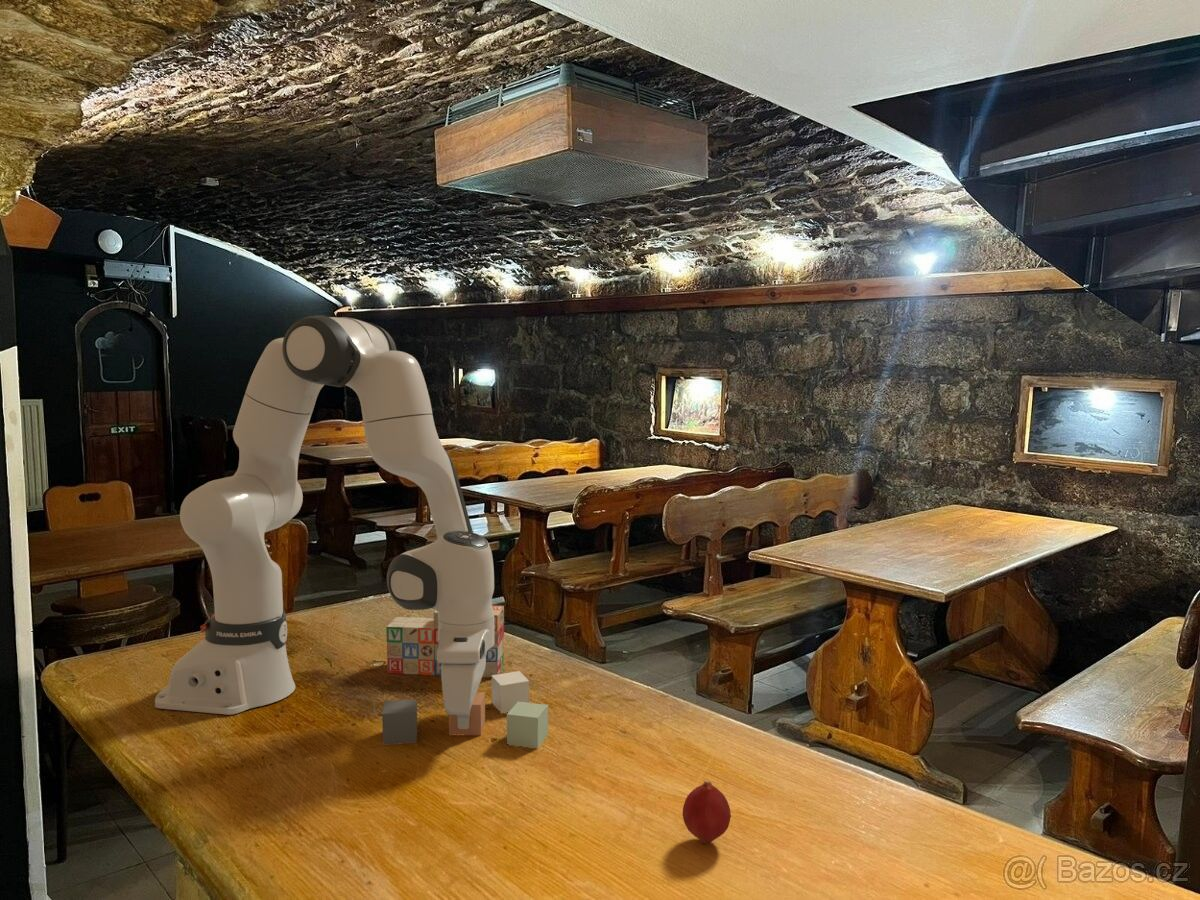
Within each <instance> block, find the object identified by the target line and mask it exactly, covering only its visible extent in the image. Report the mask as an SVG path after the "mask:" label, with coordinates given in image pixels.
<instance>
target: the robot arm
mask: <svg viewBox="0 0 1200 900" xmlns="http://www.w3.org/2000/svg"><path fill="white" fill-rule="evenodd" d="M324 386H330V387H336V388H343V387H345V386H347V387H349V388H350V389H352V391H354V392H355V393H356V396H357V397H358V400H359V402H360V403H359V404H360V407H361V415H362V423H363V429H364V435H365V436H364V437H365V442H366V446H367V449H368V451H369V454H370V457H371V458H372V460H373V461H374V462H375V463H376V464H377V465H378V466H379V467H381V468H382V469H383V470H385V471H386V472H388V473H390V474H392V475H395V476H398V477H401V478H404V479H407V480H409V481H411V482H412V483H415V484H416V486H418V487H419V488H420V489H421V491H422V492H423V493H424V495H425V497H426V500H427V503H428V506H429V511H430V514H431V517H432V521H433V525H434V529H435V532H436V540H435V541H433V542H431V543H429V544H427V545H423V546H421V547H417V548H413V549H411V550H407V551H405V552H403V553H401V554H398V555H396V556H395V557H394V558H393V559H392V560H391V562H390V564H389V565H388V568H387V571H386V572H387V573H386V584H387V589H388V592H389V595H390V596H391V598H392V600H393V602H395V603H396V605H398V606H400V607H401V608H403V609H405V610H408V611H422V610H424V611H425V610H429V609H433V610H435V611H436V610H437V612H438V648H437V662H438V663H442V665H441V675H440V676H441V677H440V678H441V689H442V701H443V707H444V711H445V713H446V714H447V715H448V716H449V715H457V718H458V728H459V729H468V728H469V726H470V709H471V707H472V704H473V701H474V698H475V695H476V693H477V692H478V689H479V687H480V683H481V682H482V678H483V677H482V676H483V673H484V670H485V666H486V654H487V651H488V649H490V648H492V647H493V646H494V610H493V607H492V606H493V602H492V601H493V595H494V592H495V570H494V569H495V568H494V558H493V552H492V549H491V546H490V543H489V542H488V540H487V539H486V538H485V537H484V536H482V535H481V534H479V533H476V532H474V530H473V528H472V525H471V521H470V517H469V513H468V509H467V506H466V502H465V499H464V495H463V491H462V487H461V483H460V480H459V478H458V473H457V471H456V470H457V469H456V467H455V464H454V462H453V460H452V458H451V455H450V454H449V453H448V451H446V450H445V447H444V446H443V445H442V442H441V440H440V438H439V434H438V432H437V428H436V425H435V420H434V415H433V409H432V403H431V398H430V395H429V391H428V388H427V383H426V380H425V377H424V374H423V372H422V368H421V366H420V363H419V362H418V360H417V359H416V357H414V356H413V355H411V354H409V353H407V352H405V351H400V350H397V347H396V343H395V341H394V339H393V337H392V336H391V335H390V333H389V332H388V331H386V330H385V329H384V328H383V327H381V326H379V325H377V324H376V323H373V322H368V321H363V320H360V319H356V318H352V317H345V316H341V317H336V316H335V317H334V316H327V315H321V314H320V315H310V316H306V317H303V318H301V319H298V320H296V321H295V322H294V323H292V324H291V325H290V327H289V328H288V329H287V330H286V332H285V334H284V336H283V337H279V338H275V339H273V340H271V341H270V342H269V343H268V344H267V345H266V346H265V348H264V350H263V351H262V353H261V356H260V357H259V358H258V360H257V363H256V365H255V368H254V369H253V372H252V374H251V376H250V378H249V381H248V384H247V387H246V388H245V389H246V390H245V392H244V393H245V394H244V396H243V398H242V402H241V406H240V408H239V412H238V414H237V418H236V421H235V425H234V427H233V430H232V438H233V441H234V443H235V444H236V446H237V447H238V451H239V454H238V455H239V457H238V458H239V460H238V467H237V469H236V471H235V473H234V474H233V475H231V476H227V477H223V478H218V479H213V480H211V481H207V482H206V483H204V484H203V485H200V486H199V487H197V488H195V489H194V490H192V491H191V492H190V493H188V494H187V495H186V496H185V497H184V499H183V501H182V503H181V505H180V510H179V520H180V524H181V526H182V529H183V531H184V533H185V534H186V535H187V537H189V538H190V540H192V541H193V542H195V543H196V544H197V545H199V547H200V548H201V550H202V551H203V554H204V556H205V559H206V561H207V563H208V566H209V570H210V574H211V579H212V590H213V605H214V606H213V607H214V609H213V610H214V613H213V614H211V617H210V618H209V619H207V620H205V621H204V624H202V625H200V634H202V633H205V634H204V635H205V637H204V639H202V640H201V641H200V642H198V643H197V644H196V645H195V646H193V647H192V648H191V649H190V650H189V651H187V652H186V653H185V654H184V655H182V656H181V657H180V658H179V659H178V660H177V661H176V662H175V664H173V667H172V669H171V671H170V672H171V673H170V676H169V681H168V682H169V683H168V685H166V686H165V687H163V688H162V689H161V690H160V691H159V692H158V693H157V694H156V696H155V697H154V698H155V699H154V708H156V709H162V710H163V709H164V710H174V711H186V712H194V713H195V712H196V713H206V714H217V715H218V714H220V715H226V716H230V715H231V716H232V715H235V714H239V713H242V712H245V711H246V710H249V709H254V708H257V707H263V706H265V705H270V704H273V703H275V702H279V701H281V700H284V699H285V698H287V697H288V696H290V695H291V694H292V693H294V691H295V690H296V684H295V681H294V679H293V675H292V671H291V667H290V664H289V663H290V662H289V660H288V654H287V645H286V643H287V641H288V640H287V638H288V624H287V615H286V611H285V609H284V600H283V597H284V596H283V595H284V594H283V572H282V569H281V567H280V565H279V564H278V563H277V562H276V561H274V560H272V558H271V556H270V555H269V552H268V548H267V546H266V545H267V544H266V543H265V542H266V541H265V533H268V532H271V531H273V530H277V529H279V528H281V527H282V526H283V525H285V524H286V523H288V522H289V521H290V520H292V519H293V518H294V517H296V516H297V514H298V513H299V511H300V510H301V507H302V505H303V501H304V500H303V498H304V496H303V490H302V487H301V485H300V483H299V482H298V469H299V468H298V467H299V459H300V454H301V450H302V445H303V444H304V443H303V442H304V440H305V439H304V438H305V436H306V432H307V430H308V426H309V424H310V420H311V417H312V414H313V412H314V408H315V405H316V401H317V398H318V396H319V393H320V391H321V390H322V388H323V387H324Z"/></svg>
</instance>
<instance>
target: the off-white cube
mask: <svg viewBox="0 0 1200 900" xmlns="http://www.w3.org/2000/svg"><path fill="white" fill-rule="evenodd" d="M517 702H527V703H530V680H529V679H528V678H527V677H526V676H525V675H524V674H523V673H522V672H521V671H520V670H516V671H511V672H506V673H500V674H498V675H492V678H491V703H493V704H494V705H493V704H492V705H493V707H495V706H496V707H495V709H496V708H497V709H498V710H499V711H500V712H501V713H504V712H509V711H510V710H511V709H512V708H513V707H514V706H515V704H516V703H517ZM497 709H496V710H497ZM498 710H497V711H498ZM499 711H498V712H499ZM500 712H499V713H500ZM501 713H500V714H501ZM504 714H505V713H504Z"/></svg>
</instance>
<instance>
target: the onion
mask: <svg viewBox="0 0 1200 900" xmlns="http://www.w3.org/2000/svg"><path fill="white" fill-rule="evenodd" d="M682 818H683V819H682V820H683V822H684V824H685V827H686V829H687V830H688V831H689V832H690V833H691V834H692V836H694V837H695V838H697V839H698V840H700V842H701V843H702V844H705V845H708V844H711V843H712V842H714V841H715V840H716V839H718V838H719V837H721V836H723V834H725V833H726V831H727V830H728V829H729V825H730V822H731V818H732V817H731V808H730V805H729V803H728V799H727V798H726V796H725V795H724V793H723V792H722V791H721V790H720V789H718V787H716V786H714V785H713V784H712V782H711V781H710V780H707V779H706V780H705V781H704V782H703V783H702V784H701V785H699V786H696V787H695V788H694V789H692V791H691V792H689V793H688V795H687V797H686V798H685V800H684V803H683V807H682Z"/></svg>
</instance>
